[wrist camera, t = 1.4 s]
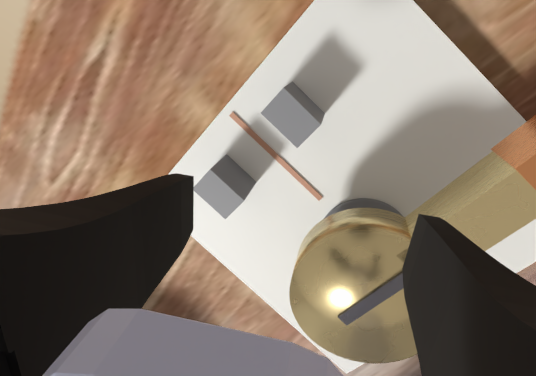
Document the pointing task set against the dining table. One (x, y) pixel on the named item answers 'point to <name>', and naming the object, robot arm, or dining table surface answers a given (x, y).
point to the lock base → (342, 139)
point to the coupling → (402, 253)
